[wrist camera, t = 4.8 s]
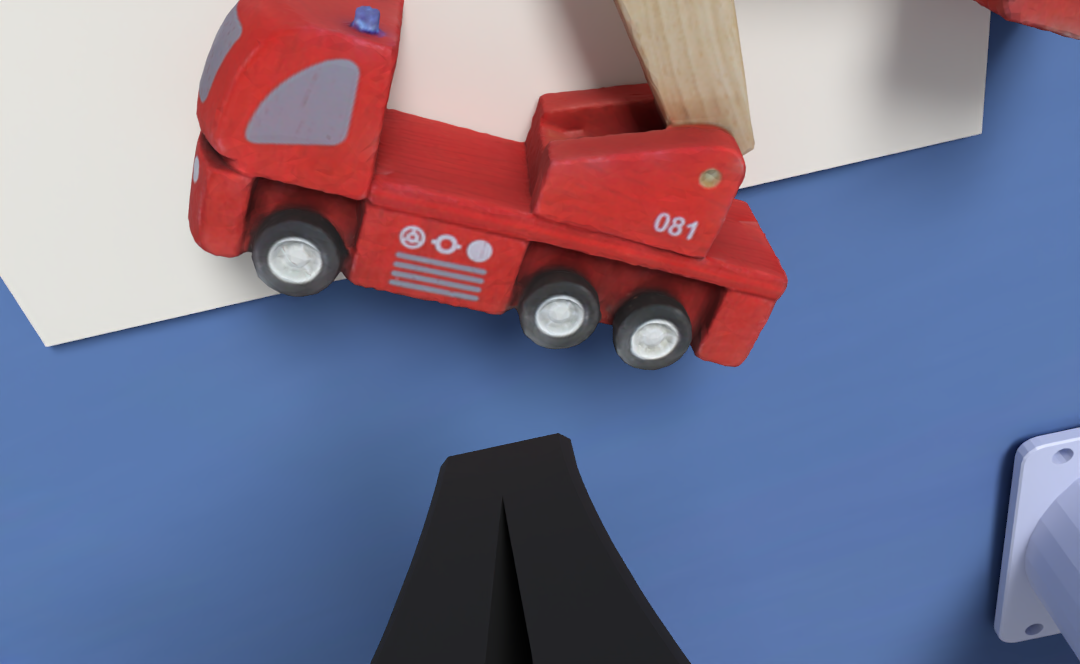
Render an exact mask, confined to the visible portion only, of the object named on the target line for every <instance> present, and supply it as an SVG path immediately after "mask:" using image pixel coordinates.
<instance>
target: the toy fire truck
mask: <svg viewBox="0 0 1080 664" xmlns="http://www.w3.org/2000/svg"><path fill="white" fill-rule="evenodd" d="M613 1H614V3H615V6H616V8H617V10H618V13H619V15H620V18H621V20H622V22H623V25H624V27H625V30H626V32H627V35H628V37H629V39H630V42H631V44H632V47H633V49H634V51H635V53H636V55H637V57H638V59H639V62H640V64H641V67H642V70H643V72H644V76H645V79H646V81H647V83H643V84H633V85H619V86H613V87H602V88H599V89H588V90H576V91H566V92H558V93H547V94H544V95H542V96H540V97H539V101H538V104H537V108H536V111H535V113H534V116H533V118H532V124H531V128H530V130H529V132H528V135H527V138H526V141H525V142H518V141H514V140H509V139H505V138H501V137H498V136H493V135H490V134H488V133H481V132H477V131H474V130H471V129H468V128H463V127H458V126H455V125H451V124H448V123H444V122H440V121H437V120H432V119H428V118H423V117H420V116H417V115H413V114H409V113H405V112H401V111H398V110H395V109H387V103H388V100H389V94H390V89H391V84H392V80H393V76H394V72H395V68H396V63H397V57H398V51H399V42H400V33H401V26H402V18H403V16H402V15H403V6H404V0H239V1H238V2H237V3H236V5H235V6H234V7H233V8H232V10H231V11H230V12H229V13H228V14H227V16H226V18H225V19H224V21H223V23H222V25H221V26H220V28H219V30H218V32H217V34H216V36H215V39H214V41H213V44H212V46H211V49H210V51H209V54H208V57H207V59H206V63H205V66H204V70H203V73H202V76H201V80H200V84H199V92H198V99H197V111H196V115H197V118H198V122H199V126H200V129H201V131H200V134H199V138H198V141H197V145H196V151H195V157H194V164H193V172H192V180H191V190H190V199H189V210H188V220H189V227H190V231H191V234H192V236H193V238H194V241H195V242H196V243H197V245H198V246H199V247H201V248H202V249H203V250H204V251H206V252H208V253H211V254H213V255H215V256H222V257H227V258H233V257H237V256H240V255H241V254H243V253H245V252H251V253H252V260H253V263H254V266H255V269H256V273H257V275H258V277H259V278H260V279H261V280H262V281H263V282H264V283H265V284H266V285H267V286H268V287H270V288H272V289H274V290H275V291H277V292H279V293H282V294H286V295H289V296H308V295H313V294H317V293H319V292H320V291H322V290H323V289H325V288H327V287H328V286H329V285H330V284H331V283H332V282H333V281H334V280H335V279H336V277H337V276H338V275H339V273H340V272H342V273H343V275H344V276H345V277H346V278H347V279H348V280H350V281H351V282H352V283H354V284H355V285H359V286H363V287H365V288H374V289H376V290H383V291H388V292H391V293H395V294H399V295H405V296H409V297H412V298H417V299H422V300H430V301H438V302H439V303H443V304H448V305H451V306H455V307H466V308H469V309H473V310H477V311H482V312H485V313H488V314H498V315H501V314H503V313H505V312H506V311H508V310H510V309H513V308H515V309H516V310H517V312H518V314H519V319H520V324H521V327H522V330H523V332H524V334H525V335H526V336H527V337H528V338H529V339H531V340H532V341H533V342H535V343H536V344H537V345H540V346H543V347H545V348H549V349H561V348H569V347H572V346H575V345H578V344H580V343H581V342H583V341H584V340H586V339H587V338H588V337H589V336H590V335H591V334H592V333H593V331H594V330H595V328H596V326H597V324H598V323H599V322H600V323H605V324H609V325H613V343H614V347H615V350H616V352H617V354H618V355H619V356H620V358H621V359H622V360H623V361H624V362H625V363H627V364H628V365H630V366H632V367H634V368H639V369H644V370H657V369H660V368H663V367H666V366H669V365H671V364H673V363H674V362H676V361H677V360H678V359H680V358H681V357H682V356H683V354H684V353H685V352H686V351H687V349H688V347H689V345H691V346H692V349H693V351H694V354H695V355H696V356H697V357H698V358H700V359H702V360H704V361H710V362H714V363H717V364H721V365H724V366H732V367H737V366H739V365H740V364H741V363H742V362H743V361H744V360H745V359H746V358H747V356H748V355H749V353H750V350H751V349H752V348H753V345H754V343H755V341H756V340H757V338H758V336H759V333H760V332H761V330H762V329H763V327H764V326H765V324H766V322H767V320H768V318H769V316H770V314H771V312H772V309H773V307H774V305H775V303H776V301H777V300H778V299H779V298H780V297H781V295H782V294H783V293H784V291H785V289H786V287H787V282H788V280H787V276H786V273H785V271H784V270H783V268H782V267H781V265H780V261H779V259H778V258H777V257H776V256H775V253H774V251H773V250H772V248H771V246H770V244H769V242H768V241H767V239H766V236H765V234H764V233H763V232H762V230H761V228H760V226H759V224H758V222H757V220H756V219H755V217H754V215H753V213H752V211H751V209H750V208H749V206H748V204H747V203H746V202H744V201H741V200H737V199H734V197H735V196H736V194H737V192H738V189H739V187H740V185H741V184H742V182H743V180H744V178H745V173H746V165H745V161H744V158H743V155H745V154H747V153H748V152H750V151H752V150H753V149H754V145H755V141H754V136H753V129H752V125H751V118H750V110H749V103H748V95H747V87H746V79H745V71H744V65H743V58H742V52H741V45H740V38H739V30H738V23H737V17H736V10H735V3H734V0H613ZM973 1H976V2H977V3H979V4H980V5H981V6H984V7H985V8H987V9H989V10H990V11H992V12H994V13H996V14H999V15H1000V16H1002V17H1003V18H1004V19H1005V20H1007V21H1012V22H1017V23H1020V24H1023V25H1027V26H1030V27H1034V28H1037V29H1040V30H1045V31H1051V32H1053V33H1056V34H1058V35H1061V36H1064V37H1070V38H1074V39H1078V40H1080V0H973Z"/></svg>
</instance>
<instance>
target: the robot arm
mask: <svg viewBox="0 0 1080 664" xmlns="http://www.w3.org/2000/svg"><path fill="white" fill-rule="evenodd" d="M994 629H995V632H996V633H997V635H998V637H999V638H1000V639H1001V640H1002V641H1004V642H1008V643H1014V642H1020V641H1025V640H1029V639H1034V638H1039V637H1044V636H1049V635H1054V634H1059V633H1062V635H1063V636H1064V638H1065V639H1066V641H1067V642H1068V644H1069V645H1070V647H1071V648H1072V650H1073V651H1074V653H1075V655H1076V656H1077V658H1078V659H1079V661H1080V427H1079V428H1074V429H1069V430H1065V431H1060V432H1055V433H1051V434H1046V435H1041V436H1037V437H1034V438H1031V439H1028V440H1027V441H1025V442H1024V443H1022V445H1021V446H1020V447H1019V448H1018V449H1017V452H1016V455H1015V461H1014V469H1013V477H1012V485H1011V493H1010V501H1009V509H1008V517H1007V525H1006V533H1005V541H1004V549H1003V557H1002V565H1001V573H1000V581H999V590H998V598H997V606H996V614H995V622H994ZM371 664H691V663H690V662H689V660H688V659H687V657H686V656H685V655H684V653H683V652H682V651H681V649H680V648H679V646H678V645H677V643H676V642H675V640H674V639H673V637H672V636H671V635H670V633H669V632H668V630H667V629H666V627H665V626H664V624H663V623H662V622H661V620H660V619H659V617H658V616H657V614H656V613H655V611H654V610H653V608H652V607H651V605H650V603H649V602H648V600H647V599H646V597H645V596H644V594H643V593H642V591H641V590H640V588H639V586H638V585H637V583H636V581H635V580H634V578H633V576H632V575H631V573H630V571H629V569H628V568H627V566H626V564H625V563H624V561H623V559H622V558H621V556H620V554H619V553H618V551H617V549H616V548H615V546H614V544H613V542H612V541H611V539H610V537H609V535H608V533H607V531H606V530H605V528H604V526H603V524H602V522H601V520H600V518H599V516H598V514H597V512H596V510H595V508H594V505H593V503H592V501H591V499H590V497H589V495H588V493H587V490H586V488H585V486H584V483H583V481H582V478H581V476H580V473H579V470H578V468H577V464H576V460H575V456H574V452H573V448H572V444H571V440H570V439H569V438H567V437H565V436H563V435H561V434H559V433H557V434H552V435H547V436H543V437H538V438H533V439H529V440H524V441H519V442H515V443H510V444H506V445H501V446H496V447H492V448H487V449H482V450H478V451H473V452H468V453H464V454H459V455H454V456H450V457H448V458H447V459H446V460H445V462H444V463H443V464H442V466H441V468H440V472H439V476H438V480H437V484H436V487H435V491H434V494H433V498H432V501H431V505H430V508H429V511H428V515H427V518H426V521H425V524H424V527H423V530H422V533H421V536H420V539H419V542H418V545H417V548H416V551H415V554H414V556H413V559H412V562H411V565H410V568H409V570H408V573H407V575H406V578H405V581H404V583H403V586H402V588H401V591H400V594H399V596H398V599H397V601H396V604H395V607H394V609H393V612H392V614H391V617H390V619H389V622H388V625H387V627H386V629H385V632H384V634H383V637H382V639H381V641H380V644H379V646H378V648H377V650H376V652H375V655H374V657H373V659H372V661H371Z"/></svg>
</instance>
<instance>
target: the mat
mask: <svg viewBox="0 0 1080 664" xmlns="http://www.w3.org/2000/svg"><path fill="white" fill-rule="evenodd" d="M238 1H239V0H0V276H1V278H2V279H3V281H4V282H5V284H6V285H7V287H8V288H9V290H10V292H11V293H12V295H13V296H14V298H15V299H16V301H17V302H18V304H19V305H20V307H21V309H22V310H23V312H24V313H25V315H26V316H27V318H28V319H29V321H30V323H31V324H32V326H33V327H34V329H35V330H36V332H37V333H38V335H39V336H40V338H41V340H42V341H43V343H44V344H45V346H46V347H48V346H52V345H57V344H61V343H66V342H70V341H74V340H79V339H83V338H87V337H92V336H96V335H101V334H105V333H109V332H114V331H118V330H123V329H127V328H131V327H136V326H140V325H144V324H149V323H153V322H158V321H162V320H166V319H171V318H175V317H180V316H184V315H188V314H193V313H197V312H201V311H206V310H210V309H215V308H219V307H223V306H228V305H232V304H237V303H241V302H245V301H250V300H254V299H258V298H263V297H267V296H272V295H276V294H280V293H279V292H277V291H275V290H274V289H272V288H270V287H268V286H267V285H266V284H265V283H264V282H263V281H262V280H261V279H260V278H259V277H258V275H257V273H256V269H255V266H254V263H253V260H252V253H251V252H245V253H243V254H241V255H240V256H237V257H233V258H227V257H222V256H215V255H213V254H211V253H208V252H206V251H204V250H203V249H202V248H201V247H199V246H198V245H197V243H196V242H195V241H194V238H193V236H192V234H191V231H190V227H189V220H188V210H189V199H190V190H191V180H192V172H193V164H194V157H195V151H196V145H197V141H198V138H199V134H200V131H201V129H200V126H199V122H198V118H197V115H196V111H197V99H198V92H199V84H200V80H201V76H202V73H203V70H204V66H205V63H206V59H207V57H208V54H209V51H210V49H211V46H212V44H213V41H214V39H215V36H216V34H217V32H218V30H219V28H220V26H221V25H222V23H223V21H224V19H225V18H226V16H227V14H228V13H229V12H230V11H231V10H232V8H233V7H234V6H235V5H236V3H237V2H238ZM734 3H735V10H736V17H737V23H738V30H739V38H740V45H741V52H742V58H743V65H744V71H745V79H746V87H747V95H748V103H749V110H750V118H751V125H752V129H753V136H754V141H755V145H754V149H753V150H752V151H750V152H748V153H747V154H745V155H743V158H744V161H745V165H746V173H745V178H744V180H743V182H742V184H741V185H740V187H739V189H741V188H745V187H750V186H754V185H758V184H763V183H767V182H771V181H776V180H780V179H785V178H789V177H793V176H798V175H802V174H806V173H811V172H815V171H820V170H824V169H828V168H833V167H837V166H842V165H846V164H850V163H855V162H859V161H863V160H868V159H872V158H877V157H881V156H885V155H890V154H894V153H899V152H903V151H907V150H912V149H916V148H920V147H925V146H929V145H934V144H938V143H942V142H947V141H951V140H956V139H960V138H964V137H969V136H973V135H977V134H982V121H983V108H984V94H985V81H986V68H987V54H988V41H989V28H990V14H991V11H990V10H989V9H987V8H985V7H984V6H981V5H980V4H979V3H977V2H976V1H973V0H734ZM402 16H403V18H402V26H401V33H400V42H399V51H398V57H397V63H396V68H395V72H394V76H393V80H392V84H391V89H390V94H389V100H388V103H387V109H395V110H398V111H401V112H405V113H409V114H413V115H417V116H420V117H423V118H428V119H432V120H437V121H440V122H444V123H448V124H451V125H455V126H458V127H463V128H468V129H471V130H474V131H477V132H481V133H488V134H490V135H493V136H498V137H501V138H505V139H509V140H514V141H518V142H525V141H526V138H527V135H528V132H529V130H530V128H531V124H532V118H533V116H534V113H535V111H536V108H537V104H538V101H539V97H540V96H542V95H544V94H547V93H558V92H566V91H576V90H588V89H599V88H602V87H613V86H619V85H633V84H643V83H647V81H646V79H645V76H644V72H643V70H642V67H641V64H640V62H639V59H638V57H637V55H636V53H635V51H634V49H633V47H632V44H631V42H630V39H629V37H628V35H627V32H626V30H625V27H624V25H623V22H622V20H621V18H620V15H619V13H618V10H617V8H616V6H615V3H614V1H613V0H404V6H403V15H402ZM342 279H346V277H345V276H344V275H343V273H342V272H340V273H339V275H338V276H337V277H336V279H335V280H334V281H337V280H342Z"/></svg>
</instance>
